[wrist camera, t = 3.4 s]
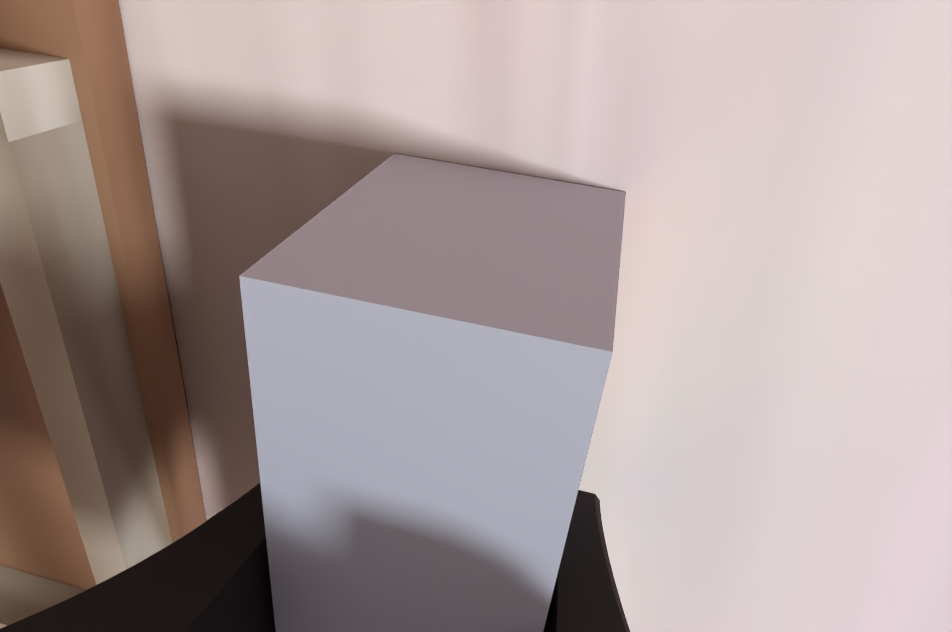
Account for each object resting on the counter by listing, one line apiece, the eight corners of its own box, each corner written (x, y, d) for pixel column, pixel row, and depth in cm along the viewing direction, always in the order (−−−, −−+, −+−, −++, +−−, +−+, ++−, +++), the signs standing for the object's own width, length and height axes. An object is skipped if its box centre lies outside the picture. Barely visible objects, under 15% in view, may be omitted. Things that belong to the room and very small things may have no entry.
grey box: (625, 192, 11) (611, 351, 6) (526, 633, 17) (485, 866, 12) (394, 153, 11) (238, 275, 7) (379, 593, 17) (293, 802, 13)
